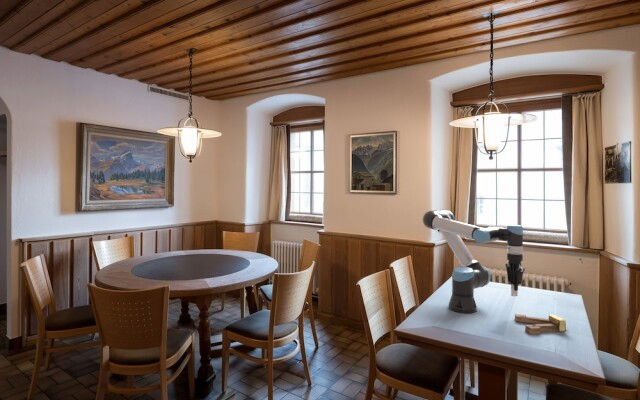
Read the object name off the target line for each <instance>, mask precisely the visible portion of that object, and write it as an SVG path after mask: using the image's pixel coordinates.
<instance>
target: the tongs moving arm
mask: <svg viewBox="0 0 640 400" xmlns="http://www.w3.org/2000/svg"><path fill="white" fill-rule="evenodd" d="M514 320H515V322H521V323H527V324H531V325H534V324H553V323H554V322H552V321H550V320H549V318H543V317H535V316H527V315H526V314H519V313H514ZM566 329H567V324H566V325H565V330H566Z"/></svg>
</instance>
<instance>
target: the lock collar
mask: <svg viewBox="0 0 640 400" xmlns="http://www.w3.org/2000/svg"><path fill="white" fill-rule="evenodd" d="M548 319H549V320H550V321H552V322H554V323H556V324H558V331H557V332H565V331H566V329H565V325H566V326H567V321H566V320H565V319H564V318H562V317H560V316H557V315H555V314H549V315H548Z"/></svg>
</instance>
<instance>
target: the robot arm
mask: <svg viewBox="0 0 640 400" xmlns="http://www.w3.org/2000/svg"><path fill="white" fill-rule="evenodd" d="M455 218H456V217H455V215H454V213H452V212H451V211H450V210H447V209H438V210H437V209H436V210H427V212H425V213H424V214H423V216H422V223H423V225H424V226H425V227H426V228H427V229H431V230H434V231H437V232H438V234H441V235H442V236H443V238H444V240H445V241H446V243H447V244H448V246H449V247H450V249H451V250H452V252H453V254H454V256H455V257H456V259H457V261H458V263H459V264H460V265H461V267H459V266H458V267H455V268H454V269H453V270H452V274H451V278H452V279H451V296H450V299H449V302H448V308H449V309H450V310H451V311H453V312H456V313H460V314H474V313H475V312H477V310H478V309H477V307H478V306H477V303H476V300H475V296H474V292H475V291H474V289H480V288H483V287H485V286H487V285H488V284H489V283H490V281H491V278H492V276H491V272H490V270H489V269H488V268H487V267H485V266H483V265H482V264H481V263H480V261H478V260H475V258H474V256H473V255H472V253H471V252H470V250H469V249H468V247H467V246H466V243H465V242H464V241H463V239H462V237H464V238H466V239H467V238H468V239H471V240H474V241H475V242H476V243H478V244H486V243H490V242H496V241H497V242H499V241H501V242H502V241H503V242H506V247H507V250H506V251H507V254H506V259H507V260H508V262H507V263H504V264H505V269H506V274H507V275H506V277H507V280H508V282H510V289H511V290H510V292H511V293H510V294H511V295H510V296H511V297H518V296H519V295H518V294H519V293H518V291H519V285H522V281H523V277H524V275H523V274H524V272H525V269H526V268H525V267H522V263H521V262H523V260H524V259H523V258H524V256H523V255H524V254H523V253H524V244H523V243H524V242H523V241H524V229H523V228H524V227H523V226H522V225H520V224H508V225H507V227H500V226H487V227H486V228H484V227H480V226H477V225H473V224H468V223H465V222H461V221H457V220H455Z"/></svg>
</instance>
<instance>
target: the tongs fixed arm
mask: <svg viewBox="0 0 640 400" xmlns="http://www.w3.org/2000/svg"><path fill="white" fill-rule="evenodd" d="M524 331H525V332H526V333H528V334H530V335H540V334H541V333H547V332H548V333H550V332H559V331H558V324H556V323H553V324H525V327H524Z"/></svg>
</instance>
